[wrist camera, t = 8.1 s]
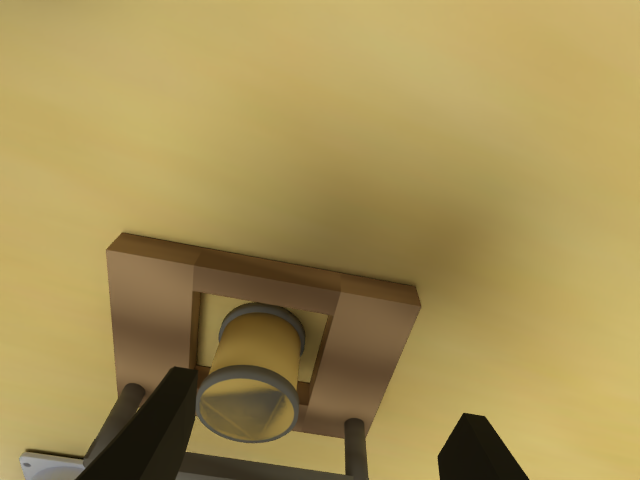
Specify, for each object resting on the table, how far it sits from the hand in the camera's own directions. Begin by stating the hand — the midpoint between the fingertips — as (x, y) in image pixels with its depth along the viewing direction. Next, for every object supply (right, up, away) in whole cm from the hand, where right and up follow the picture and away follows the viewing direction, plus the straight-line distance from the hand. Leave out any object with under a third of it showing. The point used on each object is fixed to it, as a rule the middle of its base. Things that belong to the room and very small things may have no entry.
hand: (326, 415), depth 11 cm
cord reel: (-3, -1, +12) cm, 12 cm away
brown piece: (-4, -1, +12) cm, 13 cm away
